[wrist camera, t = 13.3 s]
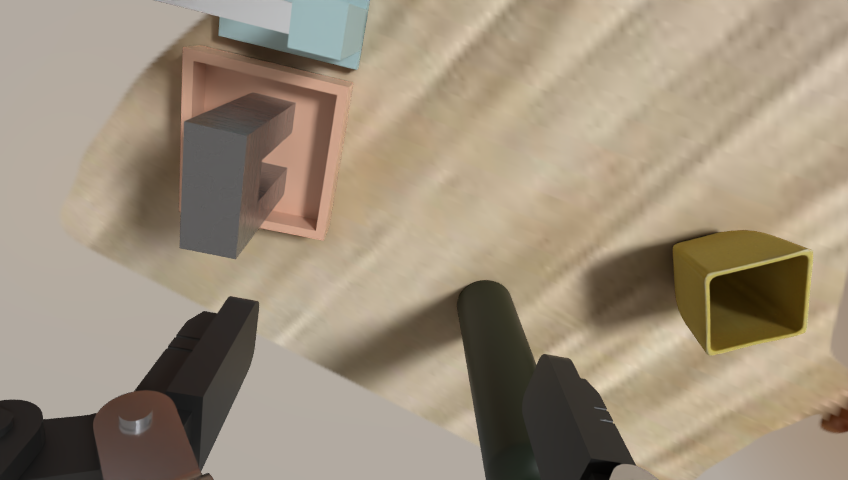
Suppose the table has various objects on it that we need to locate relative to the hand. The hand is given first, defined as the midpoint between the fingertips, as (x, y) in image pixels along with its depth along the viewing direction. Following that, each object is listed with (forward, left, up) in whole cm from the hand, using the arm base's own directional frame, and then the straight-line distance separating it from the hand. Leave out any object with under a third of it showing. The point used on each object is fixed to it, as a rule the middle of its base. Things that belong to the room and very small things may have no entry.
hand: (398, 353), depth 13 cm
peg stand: (-7, -12, -31) cm, 34 cm away
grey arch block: (+4, -11, -30) cm, 33 cm away
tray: (+4, -12, -31) cm, 33 cm away
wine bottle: (+16, +12, -31) cm, 37 cm away
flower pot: (+6, +32, -31) cm, 45 cm away
